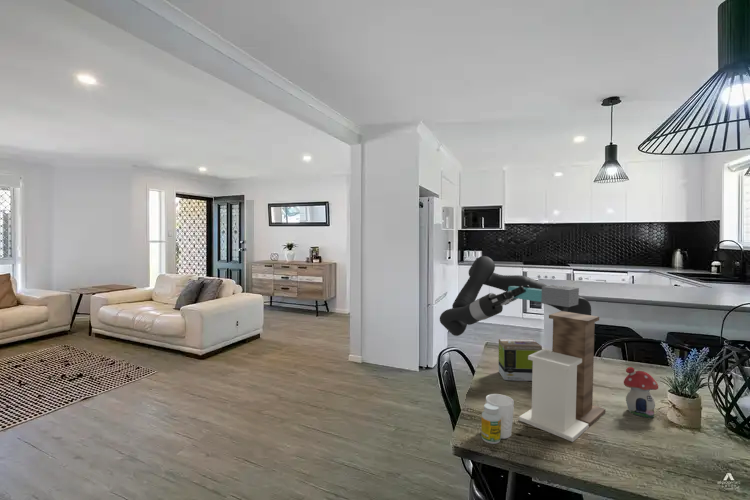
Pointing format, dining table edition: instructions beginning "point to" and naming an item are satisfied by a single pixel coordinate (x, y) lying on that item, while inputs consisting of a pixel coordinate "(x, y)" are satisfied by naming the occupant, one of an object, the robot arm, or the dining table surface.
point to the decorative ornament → (640, 393)
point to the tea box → (516, 358)
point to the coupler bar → (550, 295)
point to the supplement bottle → (491, 424)
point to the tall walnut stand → (578, 341)
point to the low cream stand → (554, 395)
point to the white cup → (503, 411)
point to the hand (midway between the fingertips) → (526, 288)
